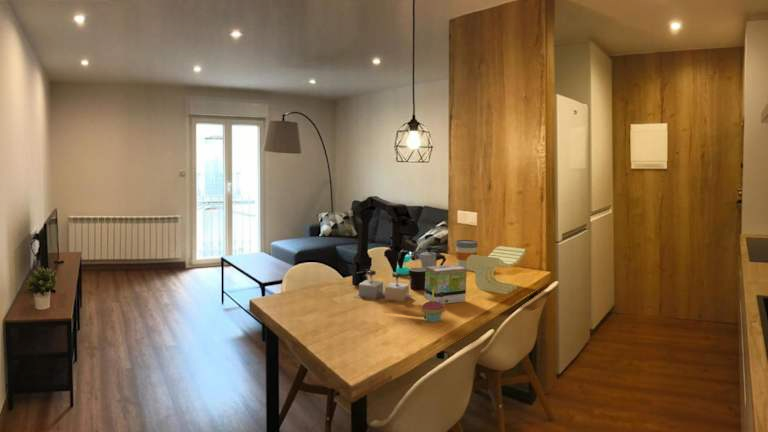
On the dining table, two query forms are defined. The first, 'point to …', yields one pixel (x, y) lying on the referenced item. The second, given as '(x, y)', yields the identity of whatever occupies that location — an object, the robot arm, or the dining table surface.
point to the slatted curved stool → (487, 264)
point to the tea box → (446, 283)
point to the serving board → (382, 298)
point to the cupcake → (433, 309)
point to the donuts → (404, 269)
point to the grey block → (370, 289)
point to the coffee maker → (430, 258)
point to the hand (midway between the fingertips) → (397, 270)
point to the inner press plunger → (371, 272)
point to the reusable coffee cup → (465, 251)
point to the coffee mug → (417, 278)
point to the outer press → (396, 291)
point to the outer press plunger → (396, 277)
